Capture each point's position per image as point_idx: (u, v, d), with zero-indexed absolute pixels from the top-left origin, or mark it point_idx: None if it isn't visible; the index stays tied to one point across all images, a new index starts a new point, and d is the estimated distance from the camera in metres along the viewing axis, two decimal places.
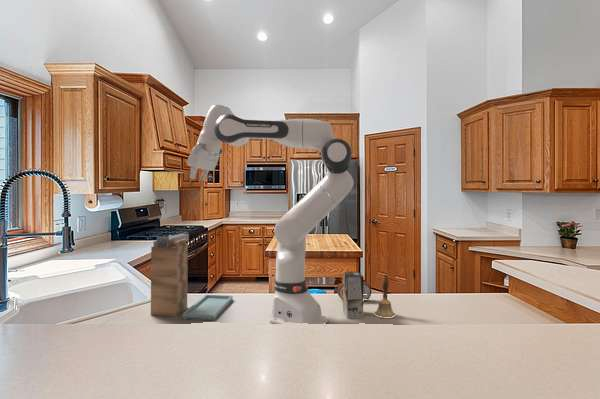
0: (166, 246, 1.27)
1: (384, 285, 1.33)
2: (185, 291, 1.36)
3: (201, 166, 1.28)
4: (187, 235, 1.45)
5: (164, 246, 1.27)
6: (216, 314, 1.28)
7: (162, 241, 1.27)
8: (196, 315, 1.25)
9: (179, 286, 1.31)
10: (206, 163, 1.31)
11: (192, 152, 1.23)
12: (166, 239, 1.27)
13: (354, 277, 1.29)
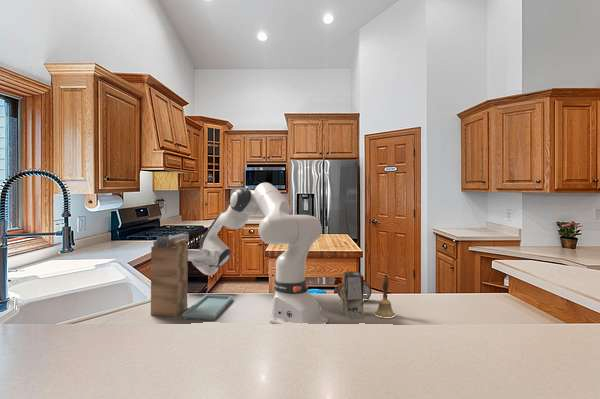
0: (166, 246, 1.27)
1: (384, 285, 1.33)
2: (185, 291, 1.36)
3: None
4: (187, 235, 1.45)
5: (164, 246, 1.27)
6: (216, 314, 1.28)
7: (162, 241, 1.27)
8: (196, 315, 1.25)
9: (179, 286, 1.31)
10: None
11: None
12: (166, 239, 1.27)
13: (354, 277, 1.29)
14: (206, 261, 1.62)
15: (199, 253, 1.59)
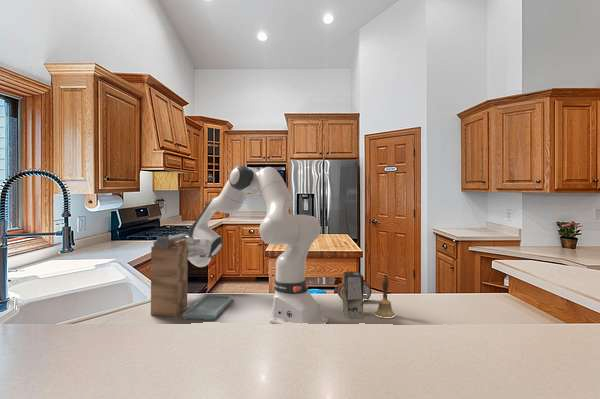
0: (166, 246, 1.27)
1: (384, 285, 1.33)
2: (185, 291, 1.36)
3: None
4: (187, 235, 1.45)
5: (164, 246, 1.27)
6: (216, 314, 1.28)
7: (162, 241, 1.27)
8: (196, 315, 1.25)
9: (179, 286, 1.31)
10: None
11: None
12: (166, 239, 1.27)
13: (354, 277, 1.29)
14: (197, 251, 1.50)
15: (189, 242, 1.47)
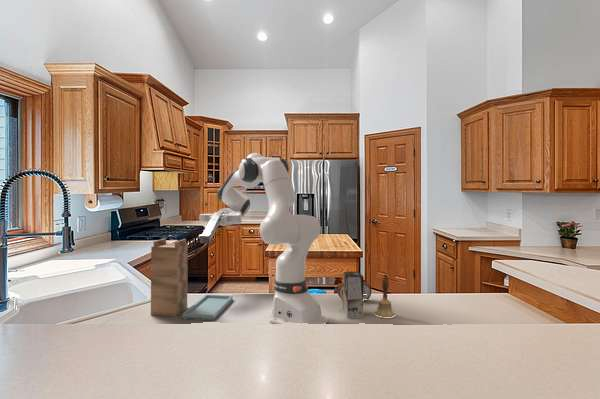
0: (209, 242, 1.46)
1: (384, 285, 1.33)
2: (185, 291, 1.36)
3: (210, 214, 1.65)
4: (220, 214, 1.61)
5: (207, 242, 1.46)
6: (216, 314, 1.28)
7: (204, 238, 1.45)
8: (196, 315, 1.25)
9: (179, 286, 1.31)
10: None
11: None
12: (207, 237, 1.45)
13: (354, 277, 1.29)
14: (230, 222, 1.69)
15: None
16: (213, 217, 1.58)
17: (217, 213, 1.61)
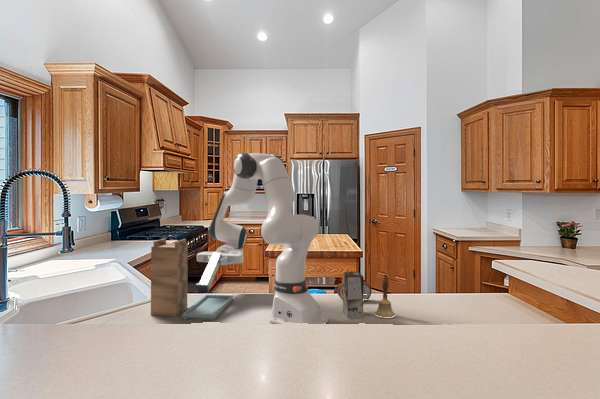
0: (207, 291, 1.30)
1: (384, 285, 1.33)
2: (185, 291, 1.36)
3: (209, 253, 1.49)
4: (220, 255, 1.45)
5: (205, 291, 1.30)
6: (216, 314, 1.28)
7: (202, 288, 1.29)
8: (196, 315, 1.25)
9: (179, 286, 1.31)
10: None
11: None
12: (205, 286, 1.28)
13: (354, 277, 1.29)
14: None
15: None
16: (212, 259, 1.42)
17: (216, 254, 1.45)
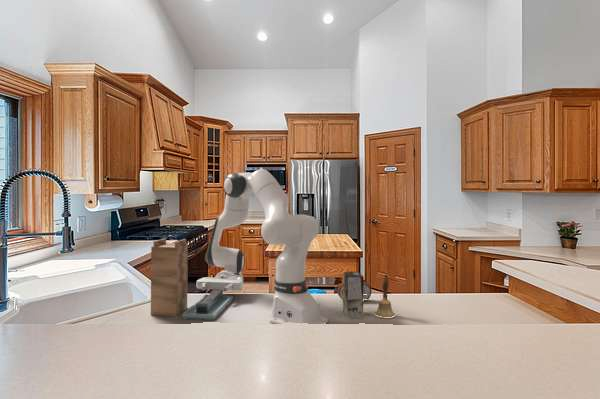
0: (206, 312, 1.29)
1: (384, 285, 1.33)
2: (185, 291, 1.36)
3: (208, 280, 1.49)
4: (221, 291, 1.47)
5: (204, 312, 1.29)
6: (216, 314, 1.28)
7: (202, 308, 1.29)
8: (196, 315, 1.25)
9: (179, 286, 1.31)
10: (218, 280, 1.50)
11: None
12: (206, 306, 1.28)
13: (354, 277, 1.29)
14: None
15: (222, 285, 1.48)
16: (213, 292, 1.44)
17: (218, 289, 1.47)
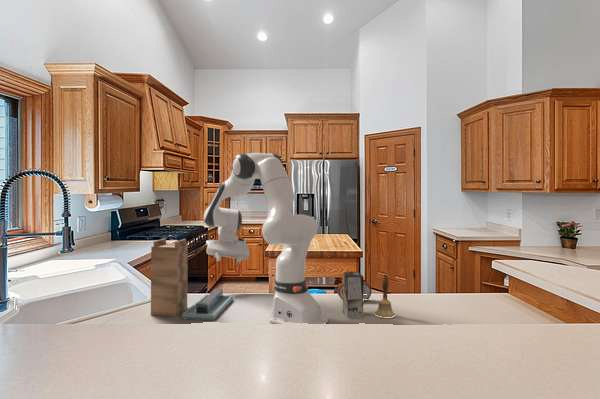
0: (206, 312, 1.29)
1: (384, 285, 1.33)
2: (185, 291, 1.36)
3: (219, 249, 1.58)
4: (221, 291, 1.47)
5: (204, 312, 1.29)
6: (216, 314, 1.28)
7: (202, 308, 1.29)
8: (196, 315, 1.25)
9: (179, 286, 1.31)
10: (227, 248, 1.61)
11: (207, 246, 1.61)
12: (206, 306, 1.28)
13: (354, 277, 1.29)
14: None
15: (232, 254, 1.61)
16: (213, 292, 1.44)
17: (218, 289, 1.47)
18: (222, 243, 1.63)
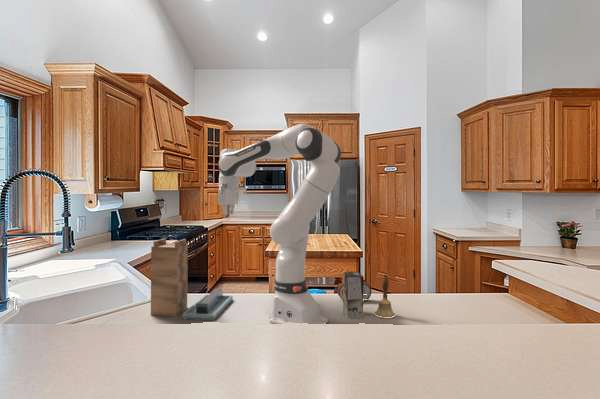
0: (206, 312, 1.29)
1: (384, 285, 1.33)
2: (185, 291, 1.36)
3: (229, 202, 1.52)
4: (221, 291, 1.47)
5: (204, 312, 1.29)
6: (216, 314, 1.28)
7: (202, 308, 1.29)
8: (196, 315, 1.25)
9: (179, 286, 1.31)
10: (231, 198, 1.55)
11: (219, 193, 1.47)
12: (206, 306, 1.28)
13: (354, 277, 1.29)
14: None
15: None
16: (213, 292, 1.44)
17: (218, 289, 1.47)
18: (230, 192, 1.53)
